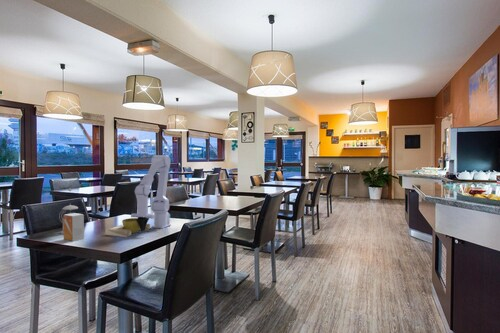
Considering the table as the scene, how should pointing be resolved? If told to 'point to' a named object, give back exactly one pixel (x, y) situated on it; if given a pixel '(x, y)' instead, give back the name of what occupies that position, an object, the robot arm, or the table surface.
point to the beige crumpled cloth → (122, 231)
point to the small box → (73, 226)
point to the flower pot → (131, 224)
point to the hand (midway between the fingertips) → (142, 230)
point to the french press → (67, 209)
